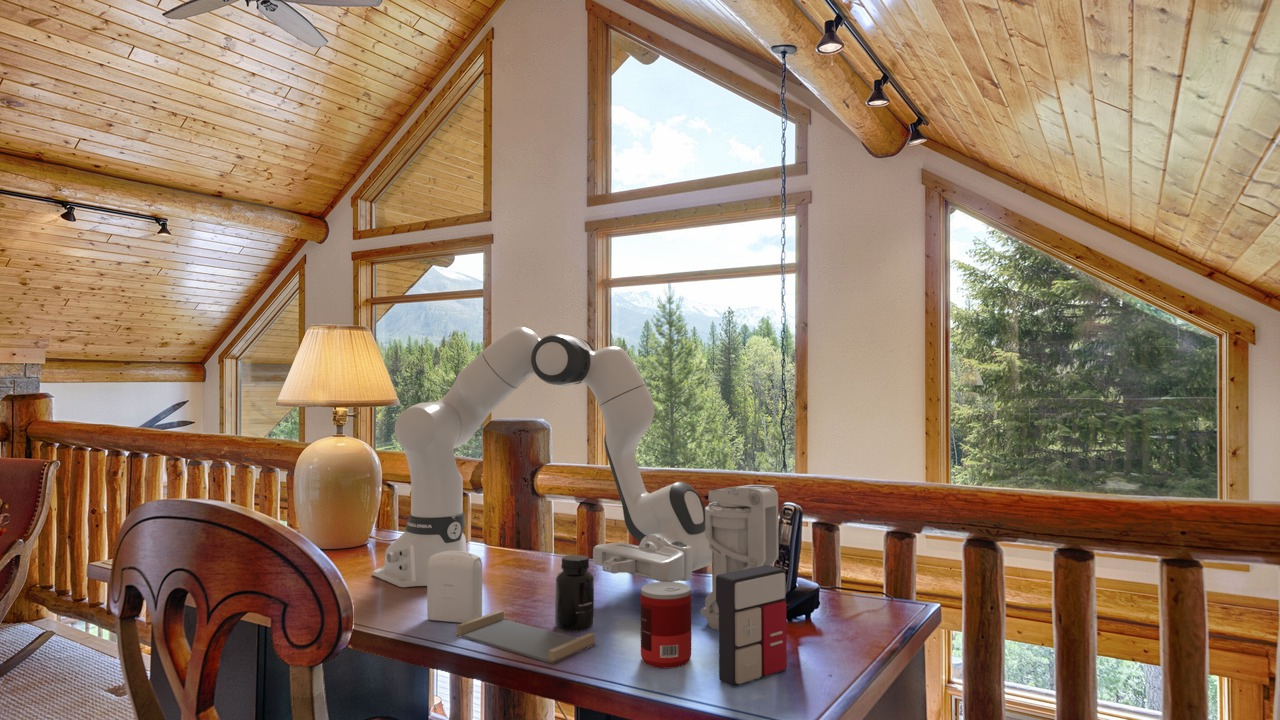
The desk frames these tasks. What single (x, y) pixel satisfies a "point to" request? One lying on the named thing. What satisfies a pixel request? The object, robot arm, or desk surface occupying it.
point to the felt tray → (523, 638)
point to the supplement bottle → (574, 594)
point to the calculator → (751, 624)
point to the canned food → (665, 624)
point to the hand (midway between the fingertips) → (607, 567)
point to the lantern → (739, 534)
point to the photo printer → (454, 587)
